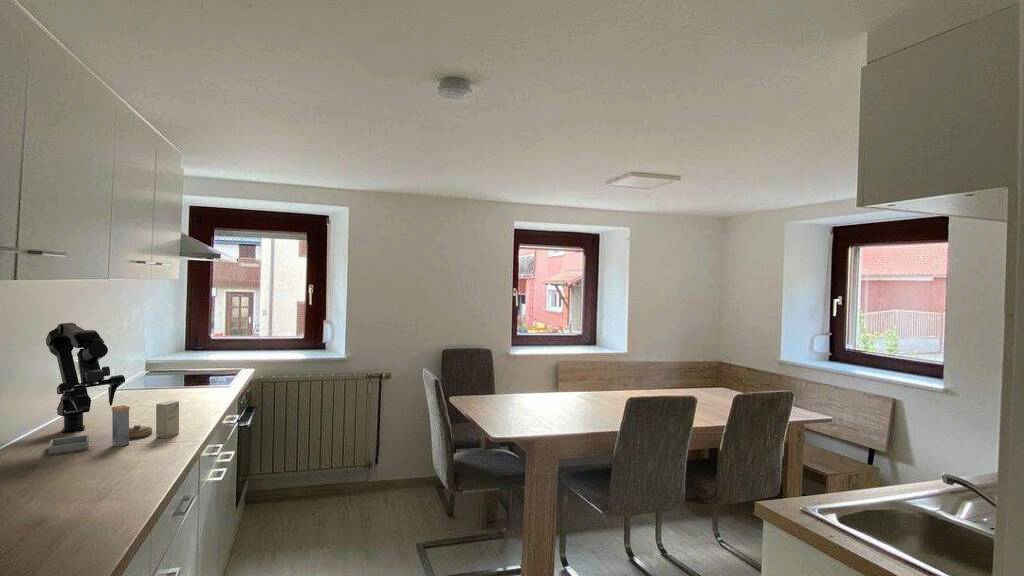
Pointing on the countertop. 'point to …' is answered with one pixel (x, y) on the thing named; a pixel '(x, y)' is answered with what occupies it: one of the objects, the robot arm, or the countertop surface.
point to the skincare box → (167, 419)
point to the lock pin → (120, 425)
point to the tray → (68, 444)
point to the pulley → (139, 431)
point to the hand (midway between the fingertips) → (95, 408)
